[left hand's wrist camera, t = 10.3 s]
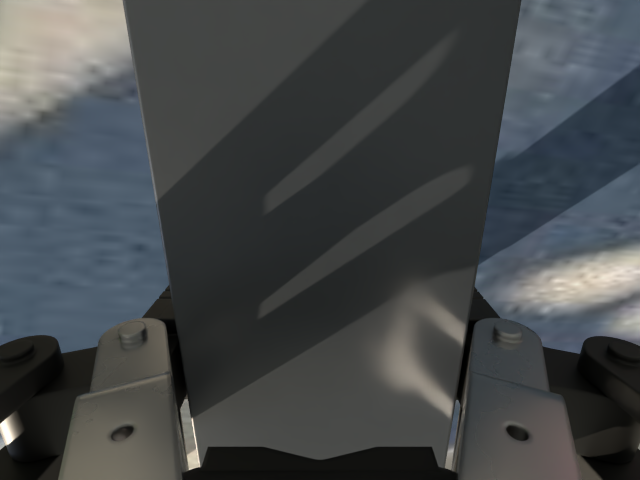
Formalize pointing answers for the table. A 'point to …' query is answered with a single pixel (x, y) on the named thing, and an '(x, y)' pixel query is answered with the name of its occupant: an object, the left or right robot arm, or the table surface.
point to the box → (322, 208)
